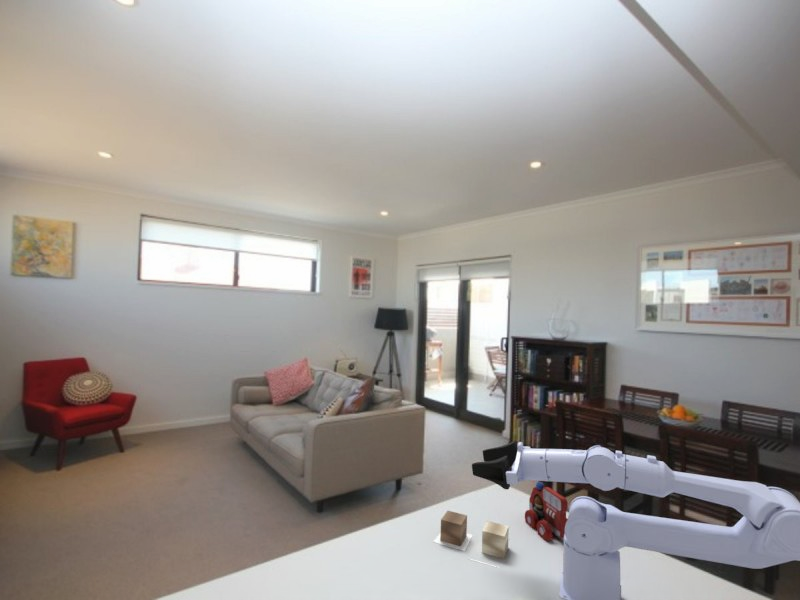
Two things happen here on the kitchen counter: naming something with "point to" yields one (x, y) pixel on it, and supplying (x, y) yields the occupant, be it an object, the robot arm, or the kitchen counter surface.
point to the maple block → (495, 539)
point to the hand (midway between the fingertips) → (478, 462)
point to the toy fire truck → (547, 512)
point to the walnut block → (453, 528)
